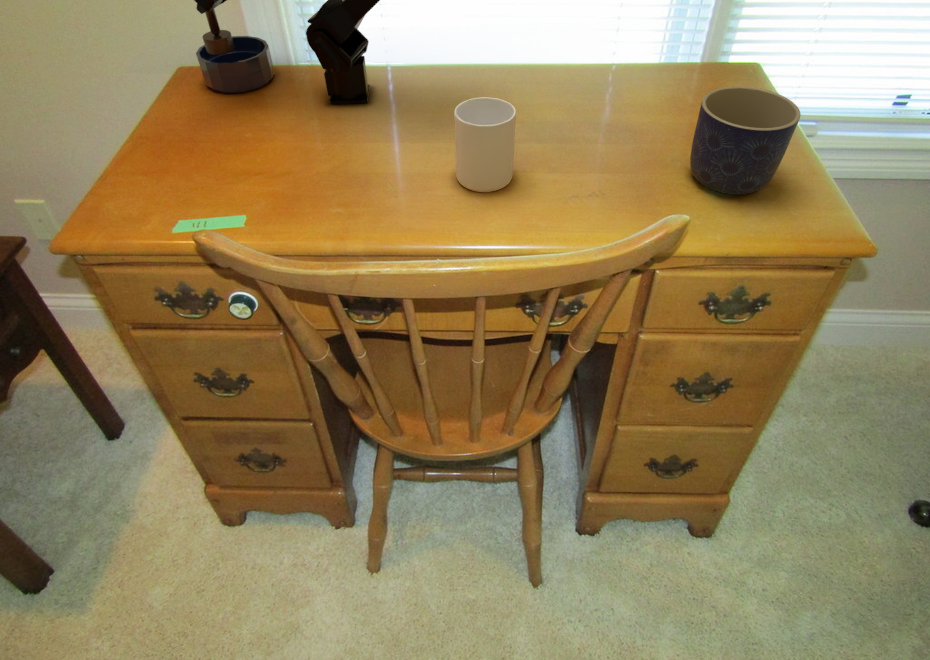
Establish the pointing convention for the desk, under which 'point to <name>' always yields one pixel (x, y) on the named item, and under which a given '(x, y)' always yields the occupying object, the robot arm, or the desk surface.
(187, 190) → the desk surface
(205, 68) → the bowl
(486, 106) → the mug
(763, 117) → the planter
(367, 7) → the robot arm
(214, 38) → the brown plunger
